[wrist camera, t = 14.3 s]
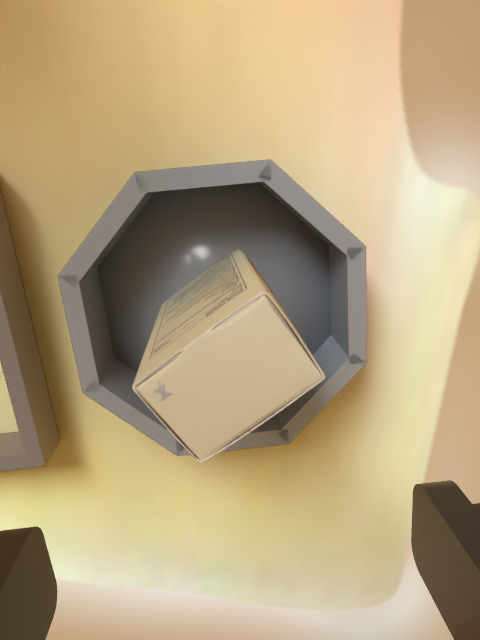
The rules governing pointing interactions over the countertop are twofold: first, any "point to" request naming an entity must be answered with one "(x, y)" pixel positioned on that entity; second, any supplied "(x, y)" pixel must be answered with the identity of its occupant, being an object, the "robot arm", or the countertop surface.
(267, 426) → the ceramic bowl
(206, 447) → the skincare box
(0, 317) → the parts tray
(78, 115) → the countertop surface
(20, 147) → the countertop surface
